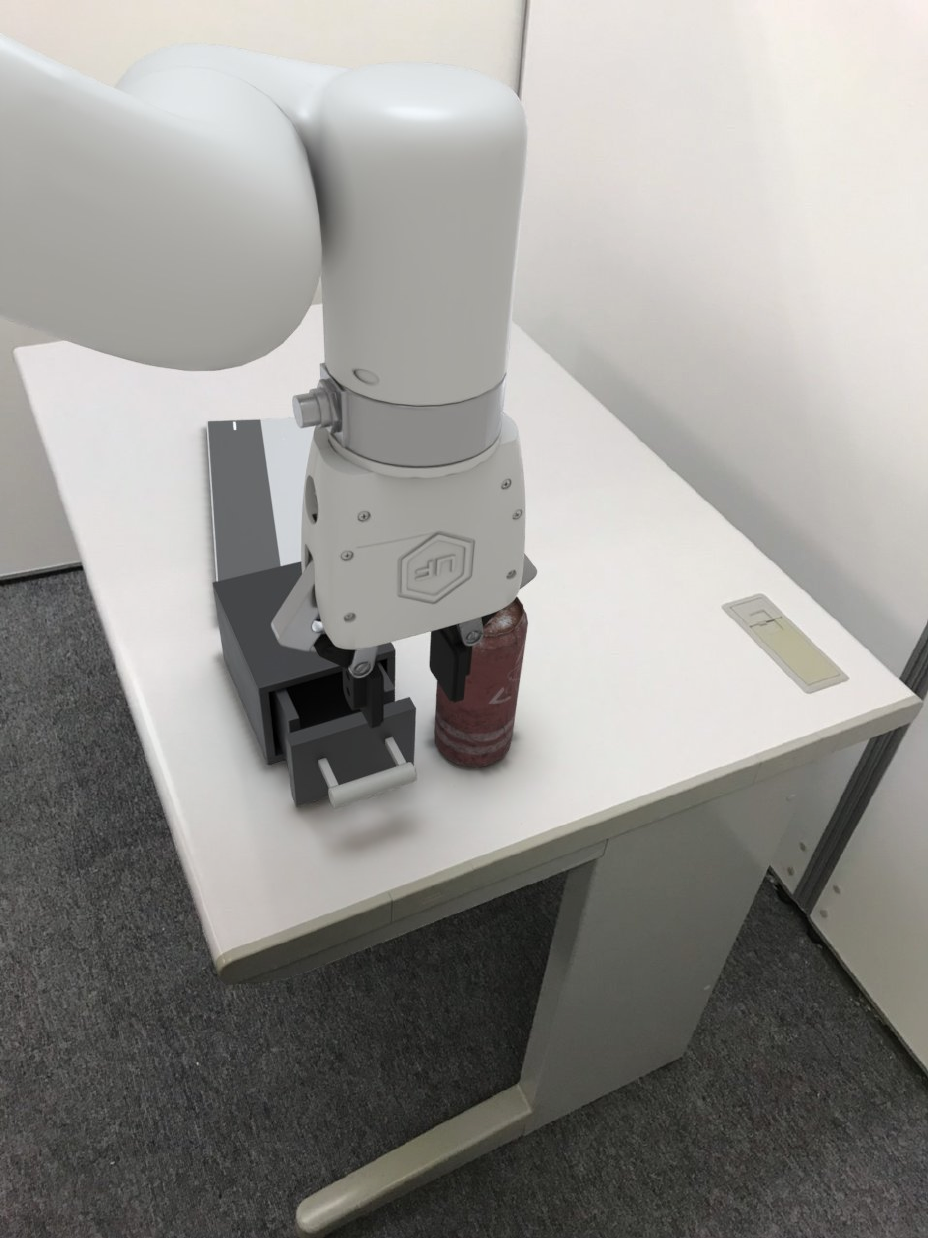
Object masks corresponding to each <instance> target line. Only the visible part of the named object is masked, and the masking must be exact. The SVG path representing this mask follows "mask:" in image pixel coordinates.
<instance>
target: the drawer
mask: <svg viewBox="0 0 928 1238" xmlns="http://www.w3.org/2000/svg"><path fill="white" fill-rule="evenodd" d="M376 663H377V664H378V666H379V668H380V670H381V671H382V673H383V677H384V722H383V723H381V726H379V727H375V728H372V729H371V728H370V727H369V725H368V723H367V721H366V719H365V717H364V715H363V713H362V711H361V709H360V708H359V709H356V710H352V709H351V708H350V706H349V704H348V702H347V700H346V697H345V694H344V689H343V671H341V672H338V673H334V674H331V675H327V676H324V677H320V678H317V679H313V680H310V681H306V682H303V683H299V684H296V685H292V686H289V687H285V688H282V689H278V690H275V691H271V692H269V701H270V710H271V719H272V728H273V731H274V733H275V735H276V738H277V740H278V742H279V745H280V747H281V749H282V752H283V754H284V756H285V761H286V763H287V765H288V775H289V784H290V795H291V798H292V801H293V802H294V805H295V807H296V808H298V807H301V806H304V805H307V804H310V803H314V802H317V801H320V800H322V799H325V798H328V799H329V802H330V804H331V806H332V808H333V809H338V808H341V807H344V806H346V805H350V804H353V803H356V802H359V801H362V800H365V799H369V798H371V797H374V796H377V795H380V794H382V793H383V794H384V793H387V792H390V791H392V790H395V789H397V788H400V787H403V786H407V785H409V784H412V783H415V782H417V780H418V777H417V771H416V768H415V747H416V746H415V744H416V722H417V721H416V720H417V706H415V704H414V702H413V700H412V698H411V697H410V696H407V697H405V698H401V699H398V700H396V687H395V688H394V686H393V684H392V683H391V681H390V679H389V677H388V676H387V674H386V672H385V670H384V669H383V667H382V665H381V663H380V662H379V661H376Z"/></svg>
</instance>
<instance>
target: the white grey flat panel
mask: <svg viewBox="0 0 928 1238" xmlns="http://www.w3.org/2000/svg"><path fill="white" fill-rule="evenodd" d="M205 423H206V437H207V438H206V439H207V441H206V442H207V452H208V454H207V455H208V457H207V458H208V469H209V471H208V472H209V486H210V501H211V517H212V533H213V534H212V535H213V548H214V550H213V551H214V552H213V553H214V566H215V567H214V568H215V580H216V581H220V580H225V579H229V578H233V577H237V576H241V575H246V574H250V573H254V572H258V571H262V570H267V569H271V568H275V567H279V566H283V565H287V564H292V563H296V562H300V561H301V529H302V506H303V494H304V484H305V476H306V469H307V463H308V457H309V452H310V447H311V442H312V438H313V434H314V430H315V427H316V426H312V427H307V428H299V426H298V425H297V422H296V420H295V417H271V418H270V417H269V418H243V419H242V418H241V419H213V420H209V419H208V420H205ZM216 581H215V582H216Z"/></svg>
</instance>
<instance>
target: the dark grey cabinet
mask: <svg viewBox="0 0 928 1238" xmlns="http://www.w3.org/2000/svg"><path fill="white" fill-rule="evenodd" d="M301 575H302V564H301V561H300V562H296V563H292V564H287V565H283V566H279V567H275V568H271V569H267V570H262V571H258V572H254V573H250V574H246V575H241V576H237V577H233V578H229V579H225V580H220V581H213V582H212V583H211V584H212V591H213V597H214V603H215V604H214V605H215V609H216V610H215V611H216V615H217V617H216V618H217V624H218V631H219V636H220V637H219V638H220V643H221V649H222V655H223V661H224V662H225V665H226V667H227V670H228V673H229V675H230V677H231V679H232V682H233V685H234V687H235V690H236V691H237V695H238V696H239V699H240V701H241V704H242V706H243V708H244V711H245V714H246V716H247V719H248V721H249V723H250V725H251V728H252V730H253V734H254V735H255V738H256V740H257V742H258V745H259V747H260V750H261V752H262V754H263V756H264V759H265V762H266V764H267V765H271V764H274V763H279V762H282V761H286V759H285V756H284V754H283V752H282V749H281V747H280V745H279V742H278V740H277V738H276V735H275V733H274V731H273V728H272V719H271V710H270V701H269V692H271V691H275V690H278V689H282V688H285V687H289V686H292V685H296V684H299V683H303V682H306V681H310V680H313V679H317V678H320V677H324V676H327V675H331V674H334V673H338V672H341V671H343V667H342V666H339V665H337V664H335V663H333V662H331V661H328V660H326V659H324V658H322V657H320V656H319V655H318V653H317V652H313V651H309V652H306V651H301V650H297V649H292V648H287V647H283V646H281V645H280V644H279V642H278V640H277V638H276V636H275V634H274V632H273V630H272V628H271V623H272V621H273V619H274V617H275V616H276V614H277V613H278V611H279V610H280V608H281V606H282V605H283V603H284V602H285V600H286V599H287V597H288V595H289V594H290V592H291V591H292V589H293V588H294V586H295V585H296V583H297V581H298V580H299V578H300V577H301ZM316 619H320V615H318V616H317V618H316ZM396 656H397V655H396V648H395V646H394V644H393V642H390V643H386V644H382V645H379V647H378V651H377V655H376V659H375V661H379V662H380V663H381V665H382V667H383V669H384V670H385V672H386V674H387V676H388V677H389V679H390V681H391V683H392V684H393V686H394V688H395V689H396V660H397V659H396V658H397V657H396Z"/></svg>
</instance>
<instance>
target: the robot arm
mask: <svg viewBox="0 0 928 1238" xmlns="http://www.w3.org/2000/svg"><path fill="white" fill-rule="evenodd" d="M529 139H530V128H529V121H528V117H527V112H526V108H525V106H524V105H523V102H522V101H521V99H520V97H519V96H518V94H517V92H515V91H514V90H513V89H512V88H511V87H510V86H509V85H508V84H507V83H505V82H503V80H500V79H498V78H496V77H494V76H492V75H490V74H488V73H485V72H482V71H479V70H475V69H473V68H468V67H464V66H461V65H460V66H459V65H454V64H447V63H440V62H428V61H388V62H379V63H373V64H372V63H371V64H367V65H364V66H360V67H356V68H355V67H346V66H339V65H333V64H332V65H331V64H327V63H326V64H325V63H319V62H312V61H306V60H301V59H294V58H291V57H285V56H279V55H274V54H270V53H266V52H261V51H255V50H251V49H246V48H242V47H235V46H230V45H225V44H224V45H223V44H216V43H215V44H214V43H207V42H205V43H204V42H187V43H185V42H184V43H178V44H172V45H168V46H164V47H161V48H158V49H156V50H155V49H154V50H153V51H151V52H149V53H147V54H145V55H144V56H143V57H141V58H139V59H138V60H136V61H135V62H134V63H133V64H132V65H131V66H129V67H128V68H127V69H126V70H125V72H124V73H123V74H122V75H121V77H119V79H118V80H117V82H116V83H115V85H114V86H112V85H109V84H107V83H105V82H102V81H100V80H98V79H95V78H94V77H91V76H89V75H87V74H84V73H82V72H81V71H79V70H77V69H76V68H73V67H71V66H69V65H66V64H63V63H61V62H60V61H57V60H55V59H53V58H51V57H49V56H48V55H45V54H43V53H41V52H39V51H37V50H35V49H33V48H31V47H30V46H27V45H25V44H24V43H21V42H20V41H18V40H16V39H13V38H12V37H10V36H8V35H6V34H4V33H2V32H0V319H3V320H6V321H8V322H11V323H14V324H17V325H19V326H24V327H26V328H28V329H31V330H33V331H37V332H40V333H43V334H46V335H48V336H51V337H54V338H57V339H60V340H63V341H65V342H68V343H72V344H74V345H77V346H81V347H83V348H87V349H89V350H92V351H95V352H98V353H102V354H104V355H108V356H112V357H115V358H119V359H123V360H125V361H130V362H133V363H136V364H137V363H138V364H141V365H146V366H150V367H156V368H164V369H170V370H177V371H183V372H184V371H185V372H215V371H216V372H217V371H223V370H229V369H233V368H239V367H243V366H246V365H247V364H250V363H252V362H255V361H257V360H260V359H261V358H264V357H266V356H268V355H269V354H270V353H272V352H273V351H275V350H276V349H278V348H279V347H280V346H282V345H283V344H284V343H285V342H286V341H287V340H288V339H289V338H290V336H292V335H293V334H294V332H295V331H296V330H297V329H298V328H299V326H300V325H301V324H302V322H303V320H304V319H305V317H306V315H307V313H309V310H310V308H311V307H312V305H313V304H312V303H313V301H314V298H315V296H316V292H317V289H318V285H319V281H320V282H321V283H320V284H321V305H322V307H321V308H322V329H323V330H322V331H323V332H322V333H323V334H322V335H323V353H324V355H323V356H324V358H323V359H324V361H323V362H320V363H319V379H318V383H317V387H315V388H311V389H309V392H307V393H300V394H295V395H293V396H292V399H291V400H292V402H291V403H292V412H293V416H294V418H295V420H296V422H297V425H298V426H299V428H307V427H312V426H316V427H315V430H314V434H313V438H312V442H311V447H310V452H309V457H308V463H307V469H306V476H305V484H304V494H303V506H302V529H301V564H302V575H301V577H300V578H299V580H298V581H297V583H296V585H295V586H294V588H293V589H292V591H291V592H290V594H289V595H288V597H287V599H286V600H285V602H284V603H283V605H282V606H281V608H280V610H279V611H278V613H277V614H276V616H275V617H274V619H273V621H272V623H271V628H272V630H273V632H274V634H275V636H276V638H277V640H278V642H279V644H280V645H281V646H283V647H287V648H292V649H297V650H301V651H306V652H309V651H313V652H317V653H318V655H319V656H320V657H322V658H324V659H326V660H328V661H331V662H333V663H335V664H337V665H339V666H342V667H343V689H344V694H345V697H346V700H347V702H348V704H349V706H350V708H351V709H352V710H356V709H359V708H360V709H361V711H362V713H363V715H364V717H365V719H366V721H367V723H368V725H369V727H370V728H371V729H372V728H375V727H379V726H381V723H383V722H384V677H383V673H382V671H381V670H380V668H379V666H378V664H377V663H376V661H375V659H376V655H377V651H378V647H379V645H382V644H386V643H390V642H391V643H393V642H397V641H401V640H404V639H408V638H412V637H416V636H420V635H423V634H427V633H430V642H429V643H430V644H429V661H428V663H429V665H428V666H429V671H430V672H431V674H432V675H433V677H434V679H435V680H436V683H437V682H438V683H439V685H440V687H441V688H442V690H443V691H444V693H445V695H446V696H447V698H448V699H449V701H453V702H454V703H456V702H459V701H462V700H464V692H465V680H466V676H469V675H470V669H471V658H472V647H473V646H474V645H476V644H478V643H479V642H480V641H481V640H482V638H483V636H484V631H483V627H484V626H485V625H486V624H487V623H488V622H489V621H490V620H491V619H492V618H493V617H494V615H495V614H496V613H497V612H498V611H499V610H501V609H503V608H504V607H506V606H508V605H509V604H510V603H511V602H512V601H514V599H515V598H516V596H517V597H518V595H519V592H520V590H522V589H523V588H525V586H527V585H528V584H529V583H530V582H531V581H533V580H534V579H535V578H536V577H537V574H538V569H537V567H536V566H535V565H534V564H533V562H532V560H530V558H529V557H528V555H526V552H525V548H526V545H525V544H526V485H525V472H524V463H523V454H522V446H521V438H520V432H519V427H518V425H517V423H516V421H514V420H513V419H512V417H511V416H509V415H508V414H507V413H505V412H504V406H505V396H506V385H507V375H508V364H509V358H510V357H509V356H510V347H511V334H512V323H513V313H514V301H515V292H516V291H515V290H516V280H517V272H518V271H517V270H518V261H519V249H520V239H521V230H522V220H523V211H524V210H523V209H524V201H525V191H526V181H527V180H526V179H527V170H528V160H529V144H530V143H529ZM318 615H320V619H316V618H317V616H318Z"/></svg>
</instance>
